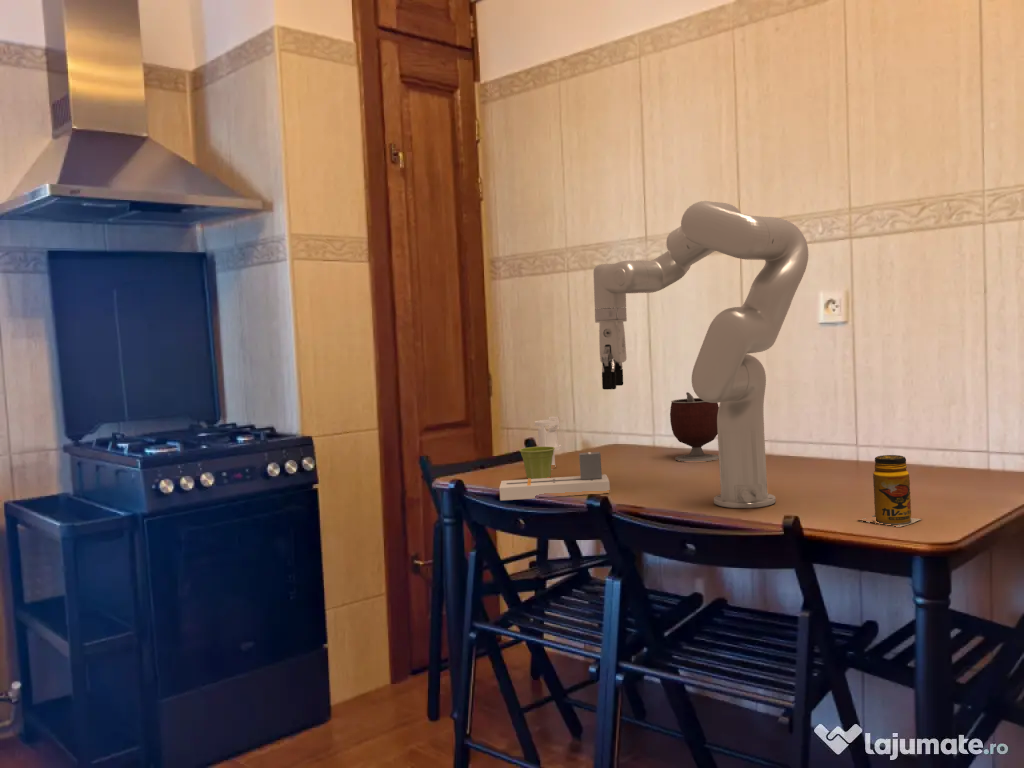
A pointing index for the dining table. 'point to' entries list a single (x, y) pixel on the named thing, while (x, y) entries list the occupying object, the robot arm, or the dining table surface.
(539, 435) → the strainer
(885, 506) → the condiment
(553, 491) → the console
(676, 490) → the dining table surface
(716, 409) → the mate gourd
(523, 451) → the plant pot
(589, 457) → the fader
